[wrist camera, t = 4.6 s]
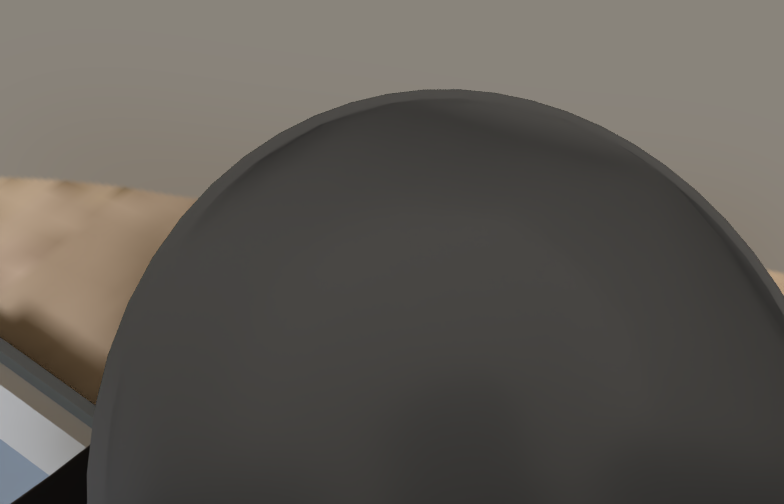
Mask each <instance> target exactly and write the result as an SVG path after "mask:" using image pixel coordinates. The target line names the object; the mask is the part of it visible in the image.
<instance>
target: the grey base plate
mask: <svg viewBox="0 0 784 504" xmlns="http://www.w3.org/2000/svg"><path fill="white" fill-rule="evenodd" d="M94 410H95V405H94V404H92V403H91V402H90V401H88V400H87V399H86V398H84V397H83V396H81V395H80V394H79V393H77V392H76V391H74V390H73V389H72V388H70V387H69V386H67V385H66V384H65V383H63V382H62V381H60V380H59V379H58V378H56V377H55V376H53V375H52V374H51V373H49V372H48V371H47V370H45V369H44V368H42V367H41V366H40V365H38V364H37V363H35V362H34V361H33V360H31V359H30V358H28V357H27V356H26V355H24V354H23V353H21V352H20V351H19V350H17V349H16V348H14V347H13V346H12V345H10V344H9V343H8V342H6V341H5V340H3V339H2V338H1V337H0V504H11V503H12V502H13V501H15V500H16V499H18V498H19V497H20V496H22V495H23V494H24V493H26V492H27V491H29V490H30V489H31V488H33V487H34V486H36V485H37V484H38V483H40V482H41V481H43V480H44V479H45V478H47V477H48V476H50V475H51V474H52V473H54V472H55V471H56V470H57V469H59V468H60V467H61V466H63V465H64V464H65V463H67V462H68V461H69V460H70V459H72V458H73V457H74V456H76V455H77V454H78V453H80V452H81V451H82V450H84V449H85V448H86V447H87V446H89V445H90V442H91V433H92V425H93V416H94Z"/></svg>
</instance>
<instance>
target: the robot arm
mask: <svg viewBox="0 0 784 504" xmlns="http://www.w3.org/2000/svg"><path fill="white" fill-rule="evenodd" d="M89 451H90V445H89V446H87V447H86V448H85V449H84V450H82V451H81V452H80V453H78V454H77V455H76V456H74V457H73V458H72V459H70V460H69V461H68V462H67V463H65V464H64V465H63V466H61V467H60V468H59V469H57V470H56V471H55V472H54V473H52V474H51V475H50V476H48V477H47V478H45V479H44V480H43V481H41V482H40V483H38V484H37V485H36V486H34V487H33V488H31V489H30V490H29V491H27V492H26V493H24V494H23V495H22V496H20V497H19V498H18V499H16V500H15V501H13V502H12V503H11V504H87V468H88V459H89Z"/></svg>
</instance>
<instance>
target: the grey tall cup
mask: <svg viewBox="0 0 784 504" xmlns="http://www.w3.org/2000/svg"><path fill="white" fill-rule="evenodd" d="M87 504H784V296H783V294H782V293H781V291H780V289H779V287H778V286H777V285H776V283H775V282H774V280H773V279H772V277H771V276H770V275H769V273H768V272H767V270H766V269H765V268H764V266H763V265H762V263H761V262H760V260H759V259H758V258H757V256H756V255H755V253H754V252H753V251H752V250H751V248H750V247H749V246H748V245H747V244H746V242H745V241H744V240H743V239H742V238H741V237H740V235H739V234H738V233H737V232H736V231H735V230H734V228H733V227H732V226H731V225H730V224H729V223H728V221H727V220H726V219H725V218H724V217H723V216H722V215H721V214H720V213H719V212H718V211H717V210H716V209H715V208H714V207H713V206H712V205H711V204H710V203H709V202H708V201H707V200H706V199H705V198H704V197H703V196H701V194H700V193H698V192H697V191H696V190H695V189H694V188H693V187H692V186H690V185H689V184H688V183H687V182H685V181H684V180H683V179H682V178H680V177H679V176H678V175H677V174H675V173H674V172H673V171H672V170H671V169H669V168H668V167H667V166H666V165H664V164H663V163H661V162H660V161H658V160H657V159H655V158H654V157H652V156H651V155H649V154H648V153H646V152H645V151H644V150H642V149H641V148H639V147H638V146H636V145H634V144H633V143H631V142H629V141H628V140H626V139H624V138H622V137H620V136H618V135H616V134H615V133H613V132H611V131H609V130H607V129H605V128H604V127H602V126H600V125H597V124H595V123H593V122H590V121H588V120H585V119H583V118H581V117H579V116H576V115H574V114H572V113H569V112H567V111H564V110H561V109H558V108H554V107H551V106H548V105H545V104H542V103H538V102H535V101H532V100H528V99H523V98H518V97H513V96H508V95H503V94H498V93H491V92H481V91H471V90H461V89H460V90H459V89H456V90H455V89H451V90H418V91H409V92H400V93H392V94H385V95H381V96H377V97H373V98H369V99H364V100H360V101H356V102H351V103H348V104H346V105H343V106H340V107H337V108H334V109H332V110H329V111H326V112H324V113H321V114H318V115H315V116H313V117H311V118H309V119H307V120H305V121H303V122H301V123H299V124H297V125H295V126H293V127H291V128H289V129H287V130H285V131H283V132H281V133H279V134H278V135H276V136H275V137H273V138H271V139H270V140H268V141H267V142H265V143H264V144H263V145H261V146H259V147H258V148H257V149H255V150H254V151H252V152H250V153H249V154H248V155H246V156H244V157H243V158H242V159H241V160H240V161H239V162H237V163H236V164H235V165H234V166H233V167H231V169H229V170H228V171H227V172H226V173H224V174H223V175H222V176H221V177H220V178H219V179H217V180H216V181H215V182H214V183H213V184H212V185H211V186H210V187H209V188H208V189H207V190H206V191H205V192H204V193H203V194H202V195H201V197H200V198H199V199H198V200H197V201H196V202H195V203H194V204H193V205H192V206H191V207H190V209H189V210H188V211H187V212H186V213H185V214H184V215H183V216H182V217H181V218H180V220H179V221H178V223H177V224H176V225H175V227H174V228H173V230H172V231H171V232H170V234H169V235H168V237H167V238H166V239H165V241H164V242H163V244H162V245H161V246H160V248H159V249H158V251H157V252H156V254H155V255H154V256H153V258H152V260H151V261H150V263H149V265H148V267H147V269H146V271H145V273H144V274H143V276H142V278H141V280H140V282H139V284H138V286H137V287H136V289H135V291H134V293H133V295H132V297H131V299H130V300H129V302H128V305H127V307H126V310H125V312H124V315H123V317H122V320H121V323H120V325H119V328H118V330H117V333H116V336H115V338H114V341H113V343H112V346H111V349H110V351H109V354H108V357H107V361H106V365H105V369H104V373H103V377H102V381H101V386H100V390H99V394H98V398H97V402H96V406H95V410H94V416H93V425H92V433H91V442H90V451H89V459H88V468H87Z"/></svg>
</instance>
